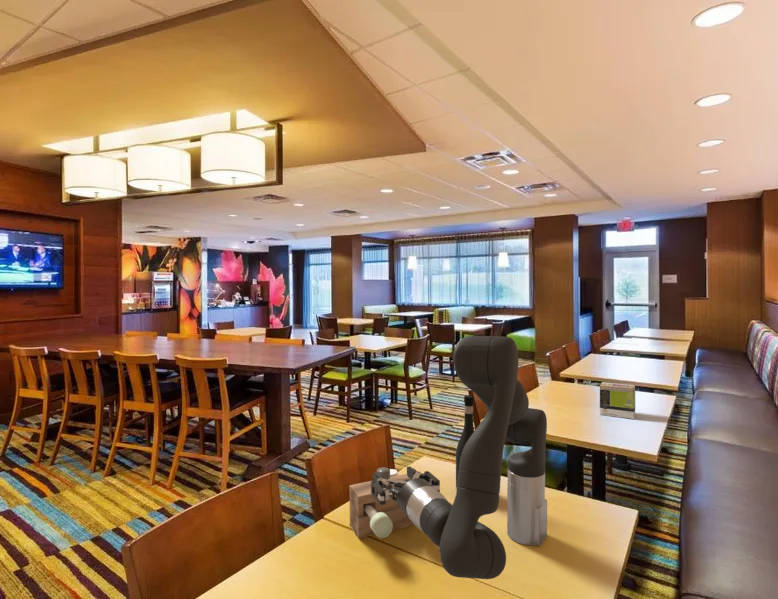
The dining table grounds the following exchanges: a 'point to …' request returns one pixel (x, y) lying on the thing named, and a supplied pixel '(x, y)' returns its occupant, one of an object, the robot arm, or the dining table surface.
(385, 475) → the dark grey cylinder
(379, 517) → the knob sage
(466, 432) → the wine bottle
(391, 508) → the brown wooden block
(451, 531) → the robot arm
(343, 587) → the dining table surface
